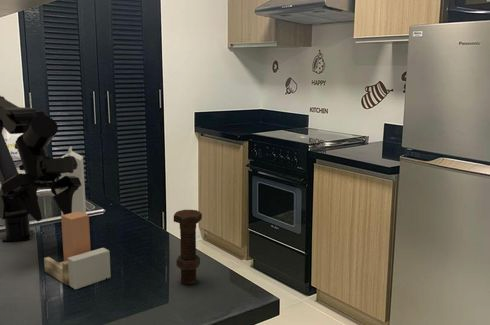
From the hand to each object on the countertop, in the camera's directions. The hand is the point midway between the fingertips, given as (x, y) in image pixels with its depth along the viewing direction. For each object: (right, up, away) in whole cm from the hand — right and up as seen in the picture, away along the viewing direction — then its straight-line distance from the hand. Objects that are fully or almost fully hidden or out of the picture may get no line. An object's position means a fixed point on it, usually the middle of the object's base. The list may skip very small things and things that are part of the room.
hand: (55, 219), depth 107 cm
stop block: (+11, -12, -8) cm, 18 cm away
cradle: (+6, -11, -4) cm, 13 cm away
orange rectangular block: (+7, -10, -5) cm, 13 cm away
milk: (-6, -5, +29) cm, 30 cm away
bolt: (+31, -12, -8) cm, 34 cm away
